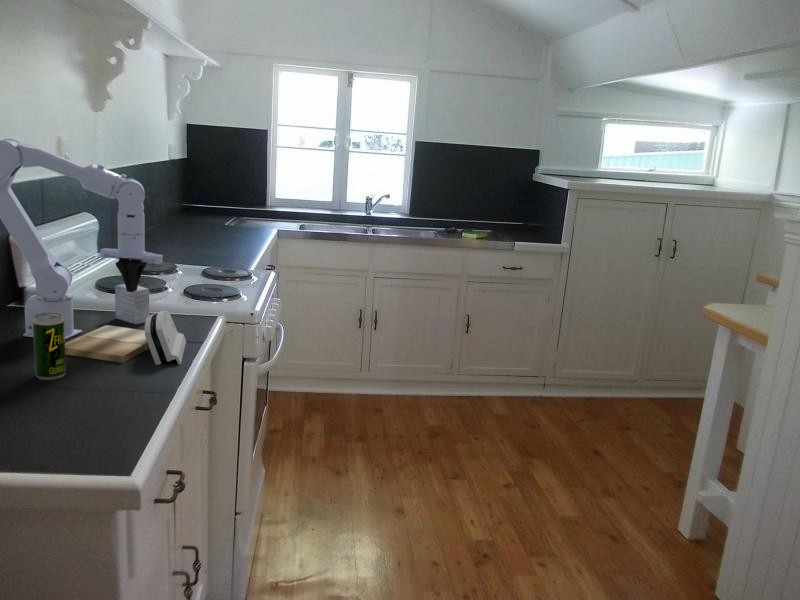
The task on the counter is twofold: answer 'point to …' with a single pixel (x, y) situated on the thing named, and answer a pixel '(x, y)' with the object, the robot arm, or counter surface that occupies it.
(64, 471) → the counter surface
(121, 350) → the plank
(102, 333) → the floor board
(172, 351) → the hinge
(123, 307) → the grey wood grain block
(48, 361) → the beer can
